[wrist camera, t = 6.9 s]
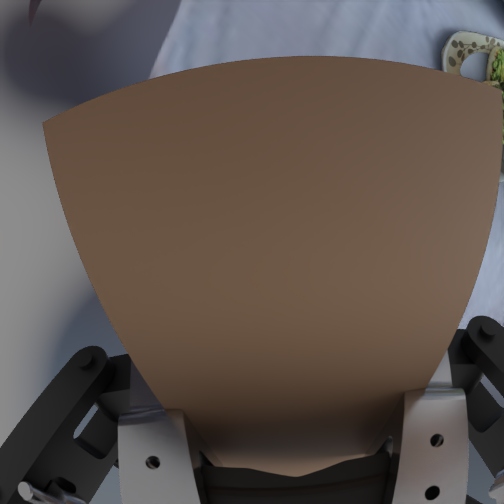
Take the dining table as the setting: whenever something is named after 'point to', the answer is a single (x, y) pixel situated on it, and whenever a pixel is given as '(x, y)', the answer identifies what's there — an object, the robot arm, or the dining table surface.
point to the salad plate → (466, 43)
